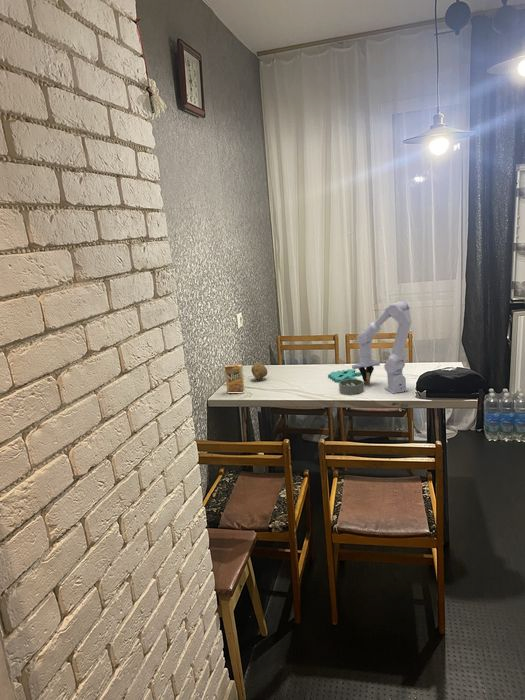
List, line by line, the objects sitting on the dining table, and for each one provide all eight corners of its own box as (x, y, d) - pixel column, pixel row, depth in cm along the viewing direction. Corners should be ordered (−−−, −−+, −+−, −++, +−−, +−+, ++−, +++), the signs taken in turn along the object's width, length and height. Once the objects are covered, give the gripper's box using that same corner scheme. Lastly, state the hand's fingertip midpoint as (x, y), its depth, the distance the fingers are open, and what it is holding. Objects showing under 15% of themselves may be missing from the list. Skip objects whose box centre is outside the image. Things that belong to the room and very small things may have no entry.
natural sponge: (267, 376, 290) (265, 360, 288) (269, 381, 281) (267, 364, 279) (251, 378, 289) (250, 362, 287) (253, 383, 280) (251, 366, 278)
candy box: (227, 394, 264) (224, 366, 261) (229, 391, 268) (226, 364, 265) (243, 393, 263) (240, 366, 259) (245, 391, 267) (242, 363, 263)
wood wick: (370, 385, 257) (369, 372, 256) (367, 386, 257) (366, 373, 255) (366, 383, 262) (365, 370, 260) (363, 383, 261) (363, 370, 260)
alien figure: (370, 374, 278) (337, 372, 288) (370, 370, 277) (337, 368, 288) (358, 384, 261) (323, 382, 272) (357, 380, 261) (323, 378, 271)
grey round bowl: (367, 392, 247) (366, 383, 246) (345, 396, 245) (344, 387, 244) (357, 386, 258) (357, 377, 257) (336, 389, 256) (335, 381, 255)
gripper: (375, 351, 261) (376, 376, 264) (349, 355, 258) (350, 380, 261) (381, 354, 254) (382, 380, 257) (354, 358, 251) (355, 384, 254)
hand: (366, 380), depth 259 cm, fingers closed on wood wick, 2 cm apart
